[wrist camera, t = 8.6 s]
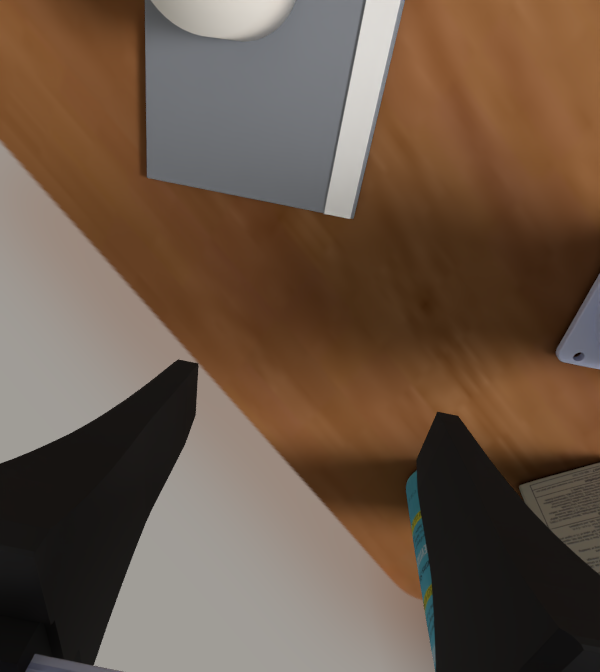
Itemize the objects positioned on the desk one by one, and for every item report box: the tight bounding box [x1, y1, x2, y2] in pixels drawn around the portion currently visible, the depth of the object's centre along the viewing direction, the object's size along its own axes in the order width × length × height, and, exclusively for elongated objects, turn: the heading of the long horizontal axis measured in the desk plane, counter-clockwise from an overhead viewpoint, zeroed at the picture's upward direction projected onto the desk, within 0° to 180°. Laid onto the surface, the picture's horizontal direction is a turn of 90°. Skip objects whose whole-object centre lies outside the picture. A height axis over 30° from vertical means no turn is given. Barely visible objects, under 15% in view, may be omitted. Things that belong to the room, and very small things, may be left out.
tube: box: [406, 470, 436, 672], centre depth 21 cm, size 7×5×19 cm, turn 5°
